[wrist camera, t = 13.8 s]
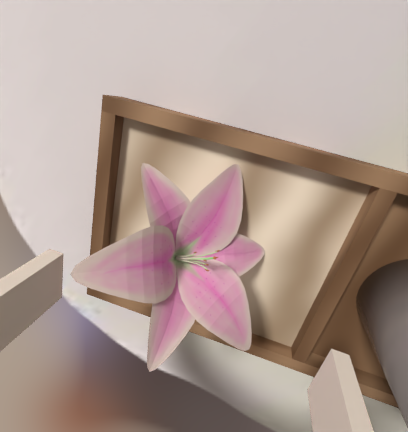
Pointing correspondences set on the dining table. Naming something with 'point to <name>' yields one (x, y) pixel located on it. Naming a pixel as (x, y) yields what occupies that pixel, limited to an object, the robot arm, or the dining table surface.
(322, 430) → the robot arm
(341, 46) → the dining table surface
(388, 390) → the tray
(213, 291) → the lily
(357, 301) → the grey rounded cylinder
